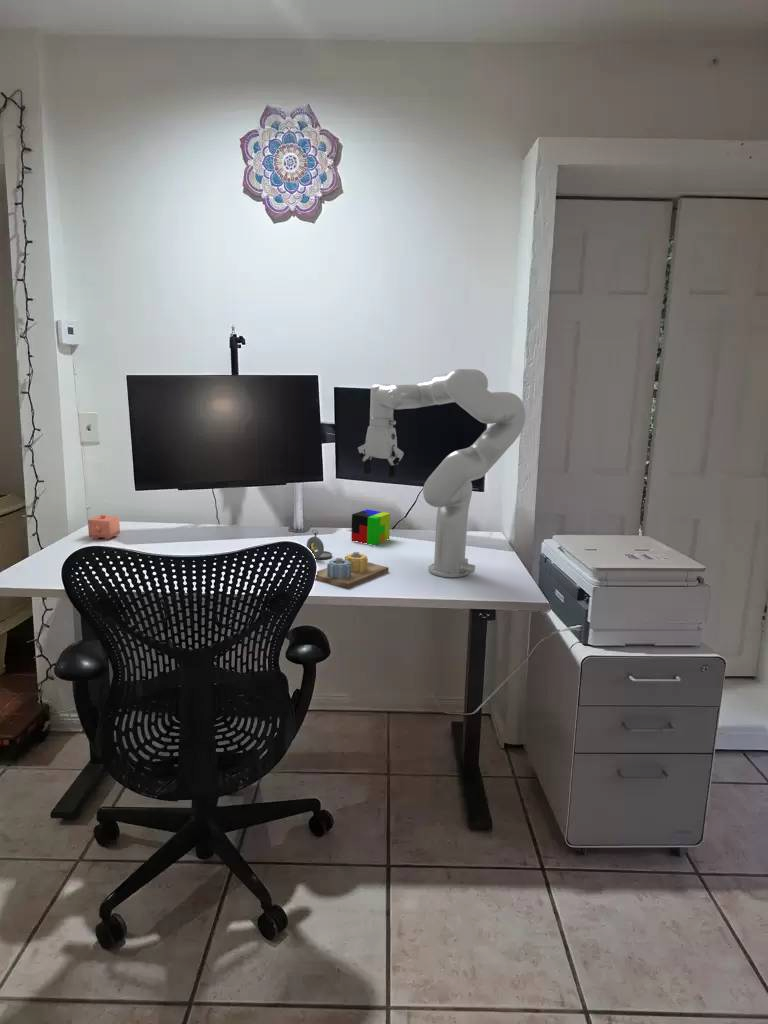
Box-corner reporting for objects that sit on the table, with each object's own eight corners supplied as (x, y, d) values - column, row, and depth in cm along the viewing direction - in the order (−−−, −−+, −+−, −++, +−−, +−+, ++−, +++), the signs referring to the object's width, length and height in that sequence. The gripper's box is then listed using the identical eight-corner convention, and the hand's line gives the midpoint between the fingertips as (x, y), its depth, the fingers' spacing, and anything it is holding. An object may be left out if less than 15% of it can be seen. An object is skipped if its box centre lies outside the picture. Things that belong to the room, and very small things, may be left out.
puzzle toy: (366, 535, 245) (366, 509, 242) (389, 539, 240) (390, 513, 237) (351, 541, 236) (351, 514, 234) (374, 546, 231) (375, 518, 229)
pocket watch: (332, 554, 220) (333, 525, 218) (330, 561, 212) (331, 531, 210) (308, 553, 220) (308, 524, 218) (305, 561, 212) (305, 531, 209)
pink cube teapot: (84, 542, 225) (82, 518, 223) (102, 533, 236) (100, 510, 234) (105, 543, 224) (104, 520, 222) (123, 534, 235) (121, 512, 234)
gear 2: (371, 568, 202) (372, 555, 201) (357, 573, 196) (358, 560, 196) (354, 563, 206) (354, 551, 205) (340, 568, 200) (340, 556, 199)
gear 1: (355, 574, 196) (355, 561, 195) (340, 580, 190) (340, 567, 189) (337, 569, 200) (337, 556, 199) (322, 575, 194) (322, 562, 193)
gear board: (388, 572, 203) (389, 552, 202) (347, 588, 188) (348, 567, 186) (353, 562, 211) (353, 543, 210) (311, 578, 196) (311, 557, 194)
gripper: (410, 424, 211) (407, 476, 215) (366, 420, 220) (364, 470, 224) (397, 426, 205) (395, 480, 209) (352, 421, 214) (351, 473, 218)
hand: (379, 475), depth 216 cm, fingers open, 9 cm apart
